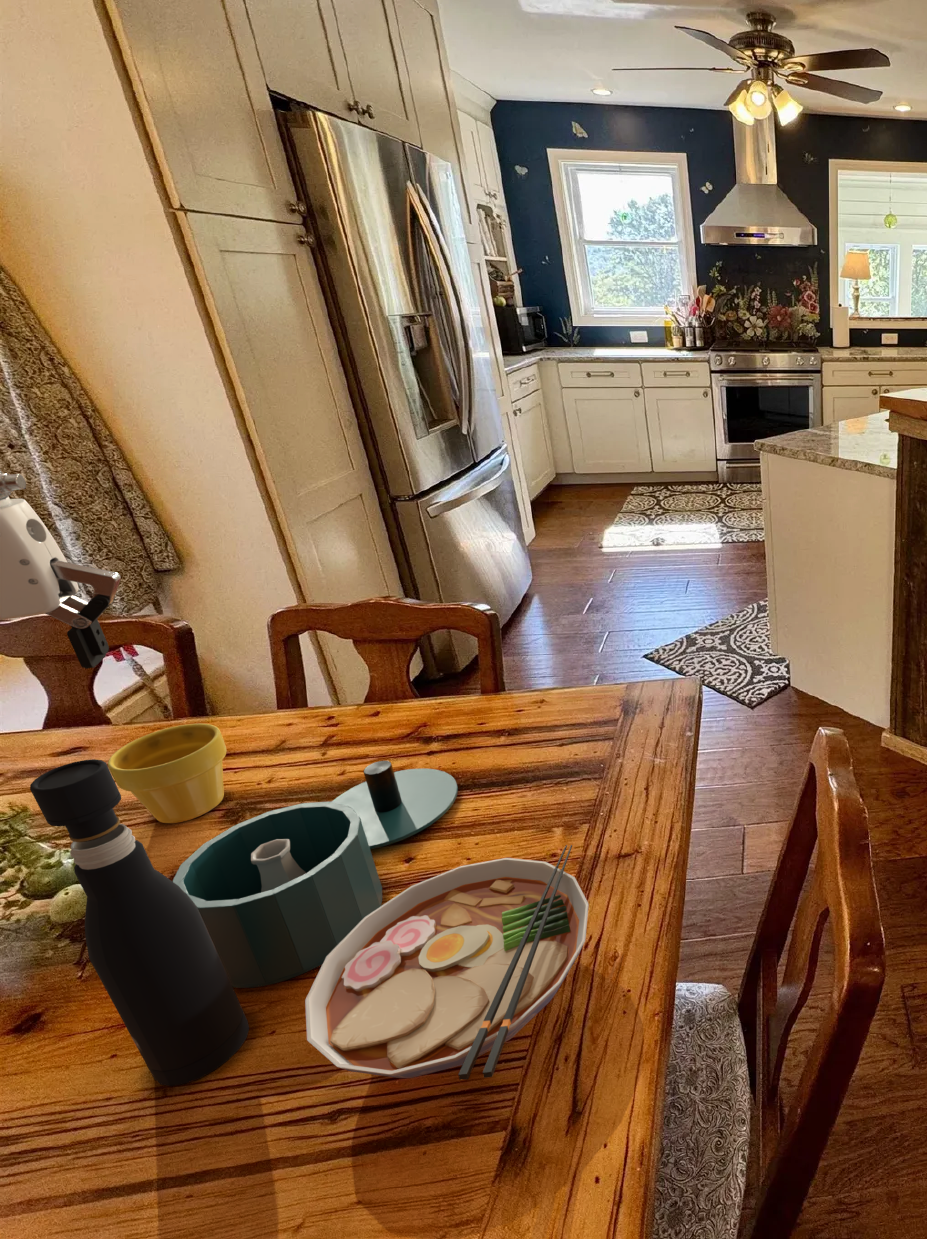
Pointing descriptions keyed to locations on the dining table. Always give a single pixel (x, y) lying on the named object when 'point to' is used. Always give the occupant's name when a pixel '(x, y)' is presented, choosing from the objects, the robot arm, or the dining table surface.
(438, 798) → the lid
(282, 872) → the flask
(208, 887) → the pot
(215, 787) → the flower pot
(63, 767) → the dark water bottle
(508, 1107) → the dining table surface
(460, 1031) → the ramen bowl
